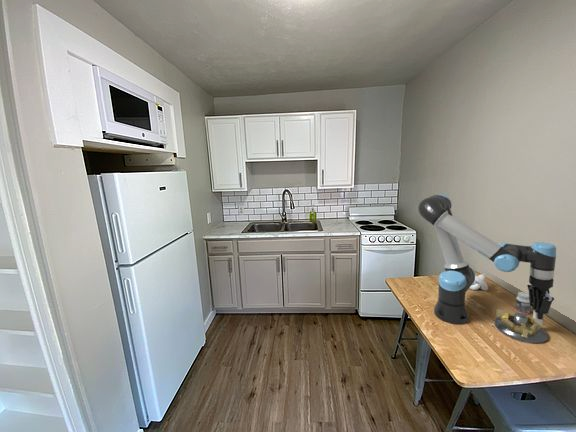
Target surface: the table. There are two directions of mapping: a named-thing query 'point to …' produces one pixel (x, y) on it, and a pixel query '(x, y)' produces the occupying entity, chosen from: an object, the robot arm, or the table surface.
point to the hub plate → (536, 339)
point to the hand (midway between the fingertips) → (537, 323)
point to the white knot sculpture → (479, 283)
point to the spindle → (519, 319)
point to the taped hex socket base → (521, 329)
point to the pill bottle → (522, 303)
